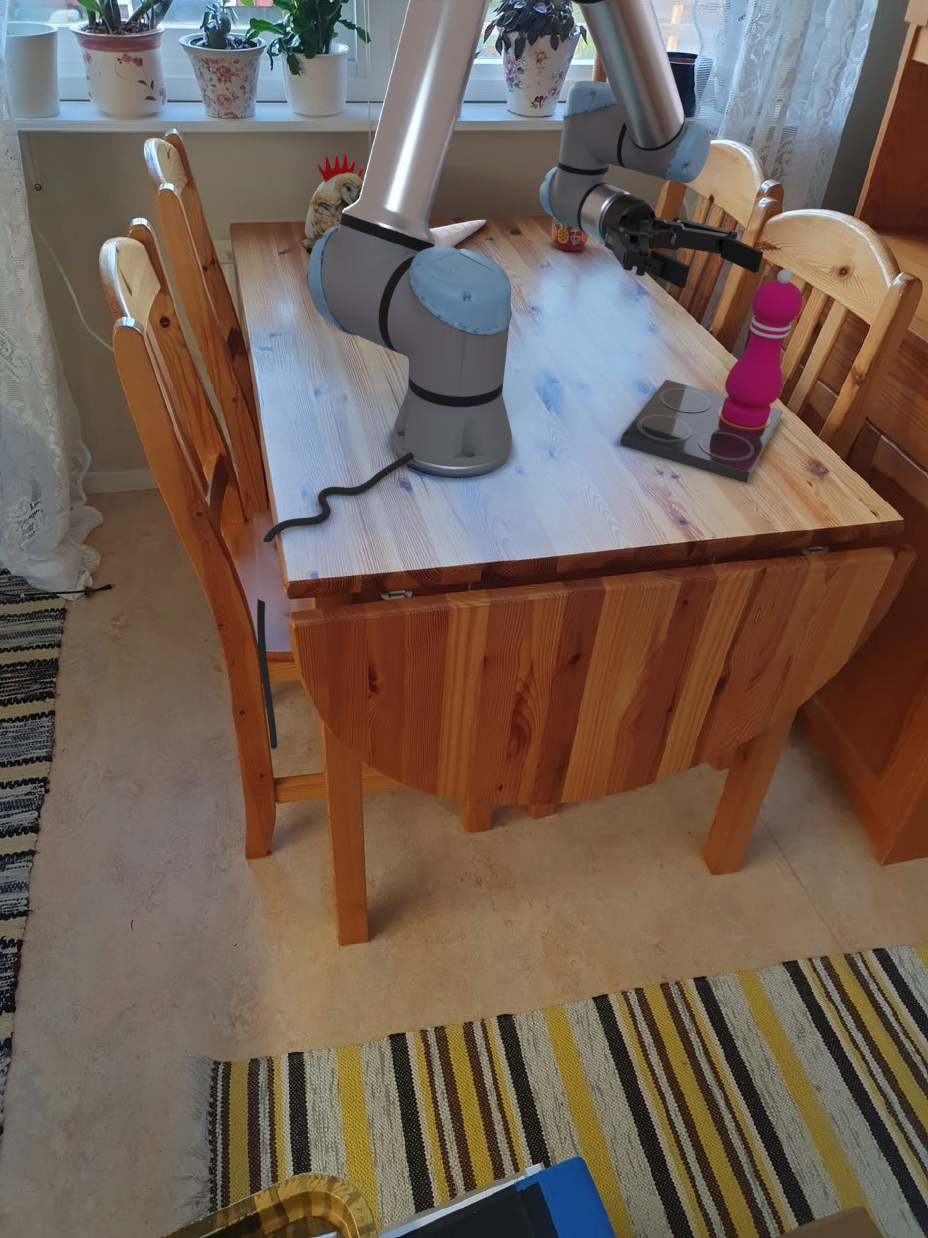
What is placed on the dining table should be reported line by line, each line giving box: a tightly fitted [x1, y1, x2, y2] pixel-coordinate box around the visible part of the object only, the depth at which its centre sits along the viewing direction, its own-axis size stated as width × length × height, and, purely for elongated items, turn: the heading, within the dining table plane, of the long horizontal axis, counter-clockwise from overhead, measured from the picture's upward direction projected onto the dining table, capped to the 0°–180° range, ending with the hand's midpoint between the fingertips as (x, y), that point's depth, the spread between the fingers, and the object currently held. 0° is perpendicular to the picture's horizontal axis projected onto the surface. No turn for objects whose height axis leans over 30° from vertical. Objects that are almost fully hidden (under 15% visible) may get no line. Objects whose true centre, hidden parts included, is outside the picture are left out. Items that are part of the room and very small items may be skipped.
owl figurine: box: [300, 172, 364, 279], centre depth 153 cm, size 18×12×17 cm, turn 115°
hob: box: [619, 379, 783, 483], centre depth 125 cm, size 19×17×2 cm
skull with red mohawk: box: [304, 153, 364, 239], centre depth 168 cm, size 14×14×15 cm
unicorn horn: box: [429, 219, 487, 247], centre depth 175 cm, size 5×24×5 cm, turn 149°
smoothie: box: [551, 217, 589, 252], centre depth 172 cm, size 8×8×20 cm
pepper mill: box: [722, 268, 803, 427], centre depth 120 cm, size 7×7×20 cm
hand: (723, 269), depth 121 cm, fingers open, 13 cm apart
